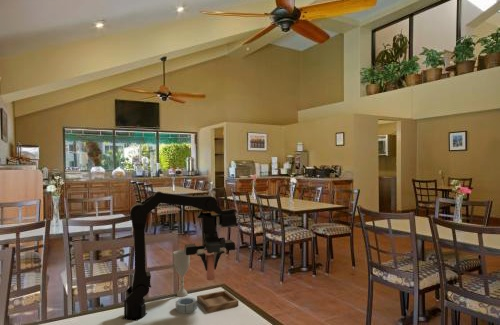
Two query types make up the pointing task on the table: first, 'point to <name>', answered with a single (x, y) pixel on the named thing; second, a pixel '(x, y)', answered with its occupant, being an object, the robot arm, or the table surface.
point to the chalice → (181, 268)
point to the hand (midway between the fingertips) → (210, 269)
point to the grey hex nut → (186, 305)
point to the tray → (217, 301)
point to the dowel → (210, 267)
